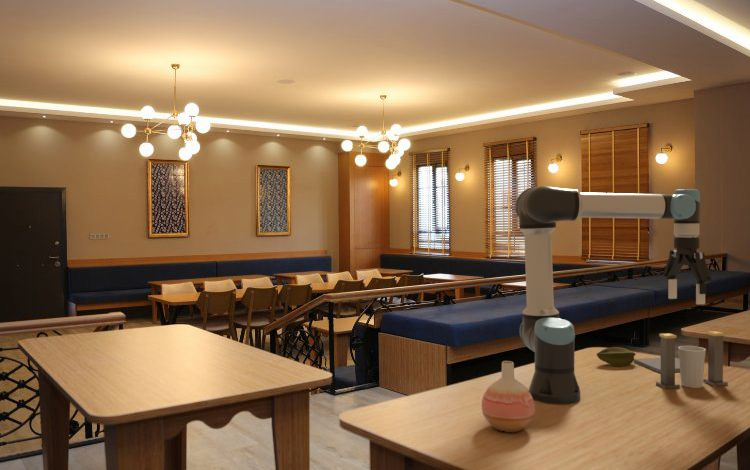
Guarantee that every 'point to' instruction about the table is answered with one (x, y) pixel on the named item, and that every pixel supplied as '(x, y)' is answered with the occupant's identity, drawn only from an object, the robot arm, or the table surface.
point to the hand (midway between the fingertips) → (686, 301)
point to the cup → (691, 365)
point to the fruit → (616, 356)
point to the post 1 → (668, 362)
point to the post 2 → (715, 359)
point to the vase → (508, 402)
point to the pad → (655, 364)
